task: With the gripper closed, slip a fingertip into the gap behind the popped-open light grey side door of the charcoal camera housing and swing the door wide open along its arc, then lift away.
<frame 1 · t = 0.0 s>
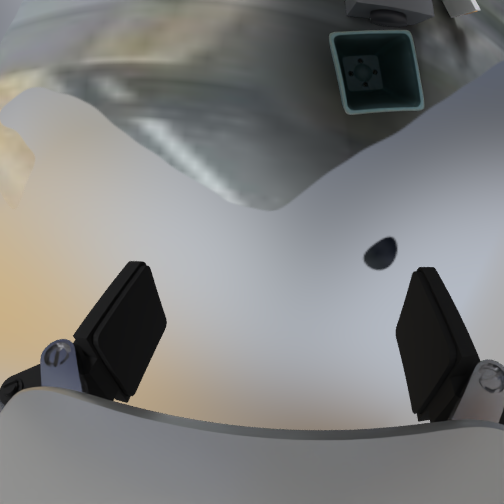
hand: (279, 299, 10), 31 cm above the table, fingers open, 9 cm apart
flower pot: (361, 73, 31), on the table
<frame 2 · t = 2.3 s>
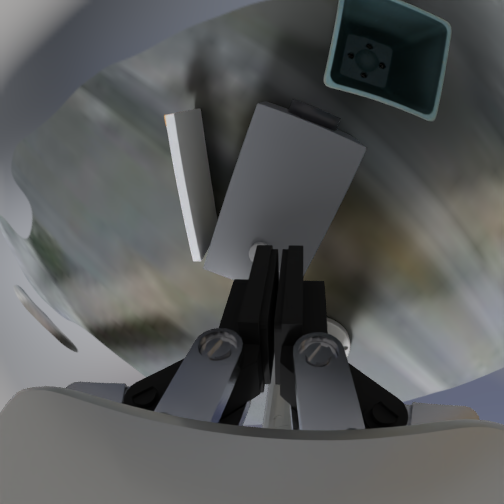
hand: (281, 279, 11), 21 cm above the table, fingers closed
flower pot: (366, 60, 23), on the table
camera housing: (281, 187, 31), on the table
side door: (190, 181, 28), point 4 cm above the table, hinge at 25.0°
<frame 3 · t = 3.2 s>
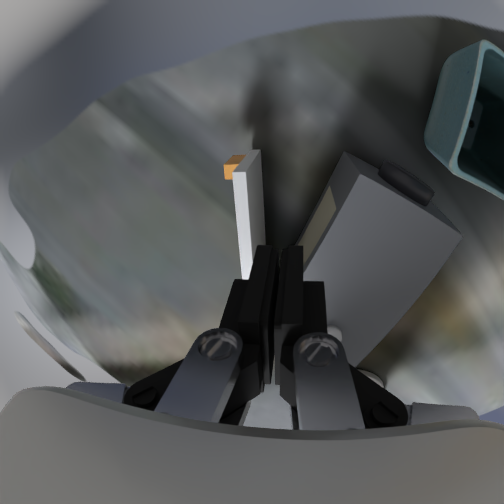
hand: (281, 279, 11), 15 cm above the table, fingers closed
flower pot: (455, 115, 19), on the table
camera housing: (346, 250, 27), on the table
side door: (248, 245, 23), point 4 cm above the table, hinge at 25.0°
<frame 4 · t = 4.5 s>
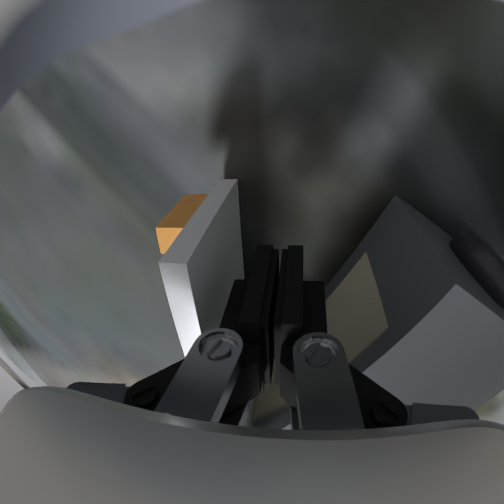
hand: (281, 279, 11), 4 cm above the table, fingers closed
camera housing: (367, 332, 18), on the table
side door: (216, 340, 14), point 4 cm above the table, hinge at 28.5°, touching gripper
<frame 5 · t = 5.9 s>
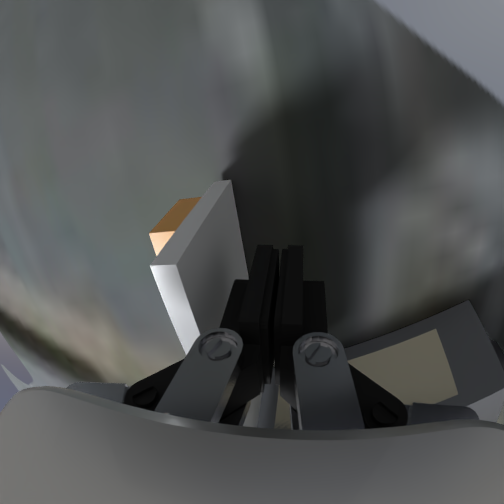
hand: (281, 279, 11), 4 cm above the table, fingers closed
camera housing: (375, 376, 20), on the table
side door: (223, 341, 14), point 4 cm above the table, hinge at 67.6°, touching gripper
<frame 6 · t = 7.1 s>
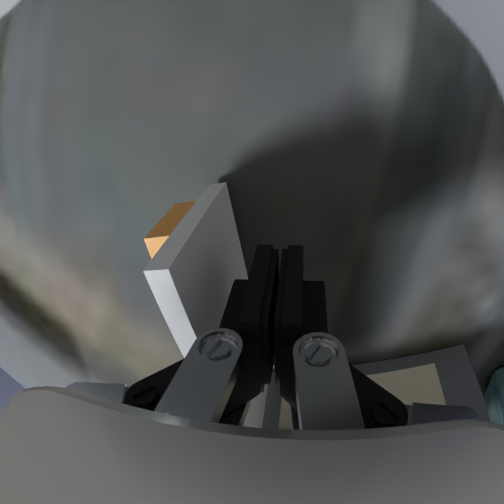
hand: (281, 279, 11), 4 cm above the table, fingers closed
camera housing: (363, 394, 21), on the table
side door: (224, 344, 14), point 4 cm above the table, hinge at 86.6°
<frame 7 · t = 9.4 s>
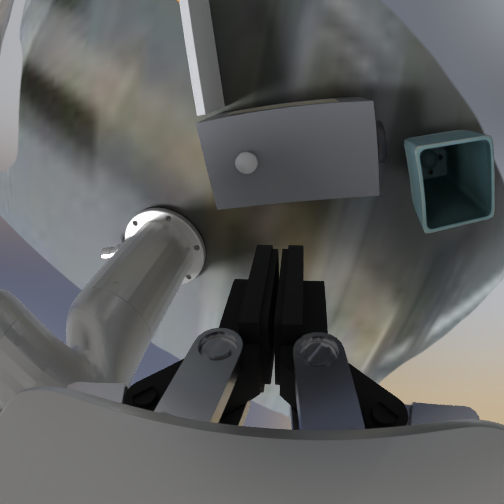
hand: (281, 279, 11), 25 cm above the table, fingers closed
flower pot: (427, 158, 30), on the table
camera housing: (293, 141, 32), on the table
side door: (197, 49, 24), point 4 cm above the table, hinge at 86.7°
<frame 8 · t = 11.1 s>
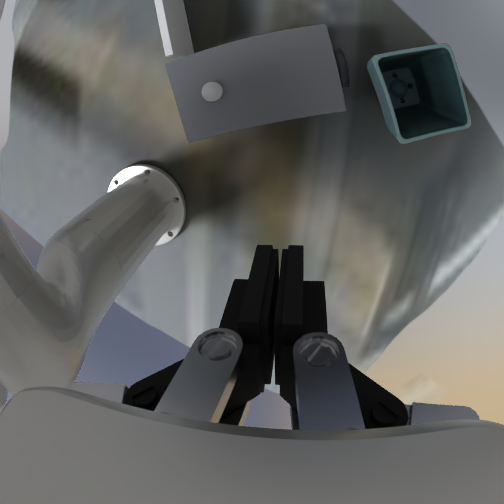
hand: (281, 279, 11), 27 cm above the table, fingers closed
flower pot: (397, 88, 28), on the table
camera housing: (261, 82, 31), on the table
side door: (167, 8, 23), point 4 cm above the table, hinge at 86.7°
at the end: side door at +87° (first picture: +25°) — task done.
